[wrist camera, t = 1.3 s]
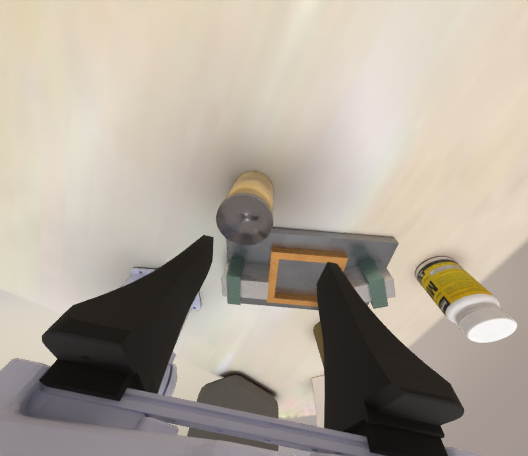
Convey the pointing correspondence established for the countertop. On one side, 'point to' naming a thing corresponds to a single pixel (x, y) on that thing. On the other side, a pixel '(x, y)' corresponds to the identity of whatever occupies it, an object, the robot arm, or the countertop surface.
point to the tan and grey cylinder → (247, 210)
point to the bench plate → (307, 267)
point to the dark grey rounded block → (237, 406)
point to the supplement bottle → (464, 300)
